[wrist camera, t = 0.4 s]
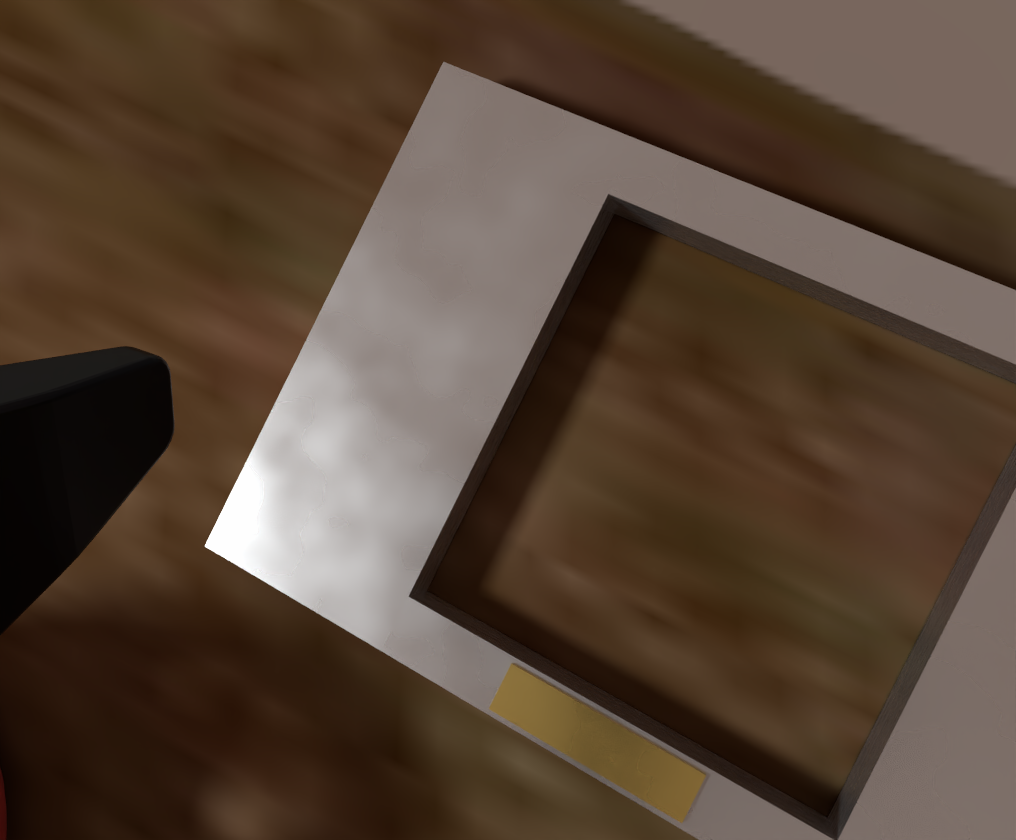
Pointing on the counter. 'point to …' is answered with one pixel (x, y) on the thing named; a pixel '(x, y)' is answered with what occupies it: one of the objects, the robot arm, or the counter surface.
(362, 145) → the counter surface
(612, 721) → the plate
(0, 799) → the plant pot
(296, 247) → the counter surface
